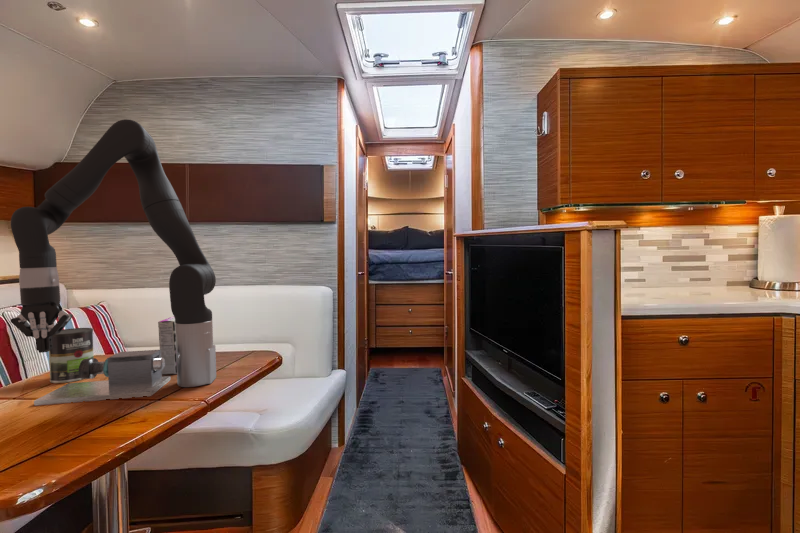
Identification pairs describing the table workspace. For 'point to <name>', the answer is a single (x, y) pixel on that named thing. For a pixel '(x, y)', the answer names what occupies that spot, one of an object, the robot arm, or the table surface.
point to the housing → (114, 381)
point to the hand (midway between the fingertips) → (44, 351)
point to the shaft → (93, 367)
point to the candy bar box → (168, 345)
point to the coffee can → (69, 353)
